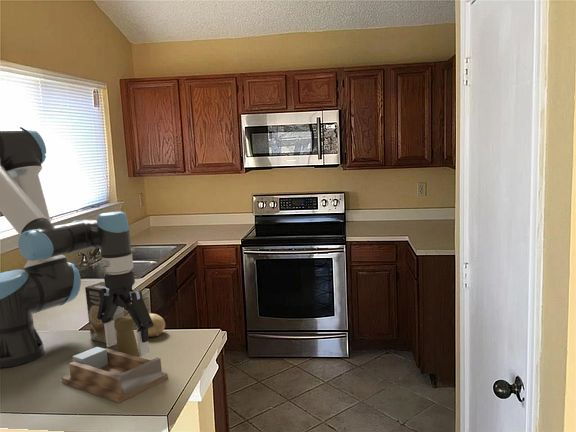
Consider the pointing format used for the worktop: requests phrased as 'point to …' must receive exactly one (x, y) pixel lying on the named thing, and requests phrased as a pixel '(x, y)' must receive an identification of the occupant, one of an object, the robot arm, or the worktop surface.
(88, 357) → the block
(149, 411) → the worktop surface
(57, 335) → the worktop surface
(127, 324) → the cork
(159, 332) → the onion
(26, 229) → the robot arm
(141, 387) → the rail board
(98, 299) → the coffee box
